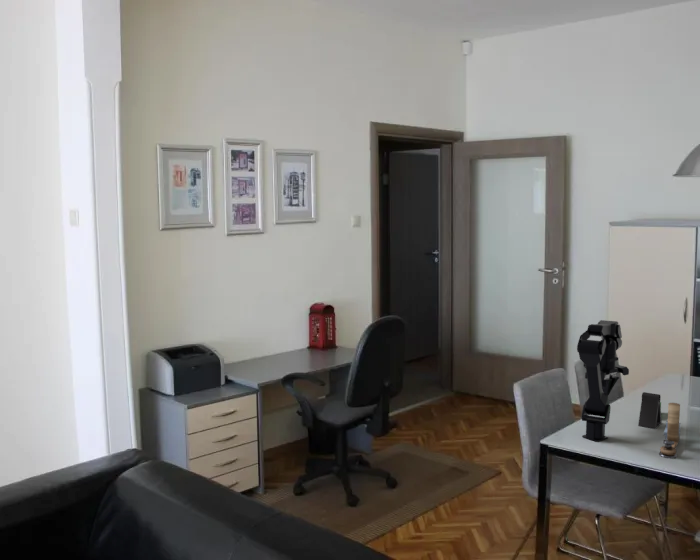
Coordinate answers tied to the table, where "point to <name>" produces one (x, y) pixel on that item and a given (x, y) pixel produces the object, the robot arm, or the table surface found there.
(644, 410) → the phone stand
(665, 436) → the bracket
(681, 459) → the table surface
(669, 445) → the pin stand
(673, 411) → the swing link
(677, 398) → the table surface
